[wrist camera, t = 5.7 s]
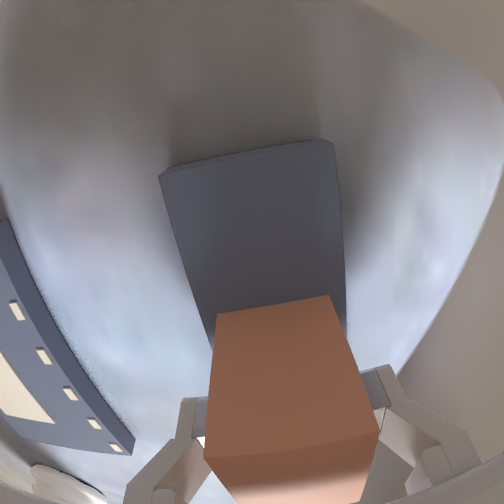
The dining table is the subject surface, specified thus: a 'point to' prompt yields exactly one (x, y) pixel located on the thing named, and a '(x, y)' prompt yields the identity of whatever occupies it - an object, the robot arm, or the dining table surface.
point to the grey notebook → (46, 370)
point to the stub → (274, 323)
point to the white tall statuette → (63, 487)
